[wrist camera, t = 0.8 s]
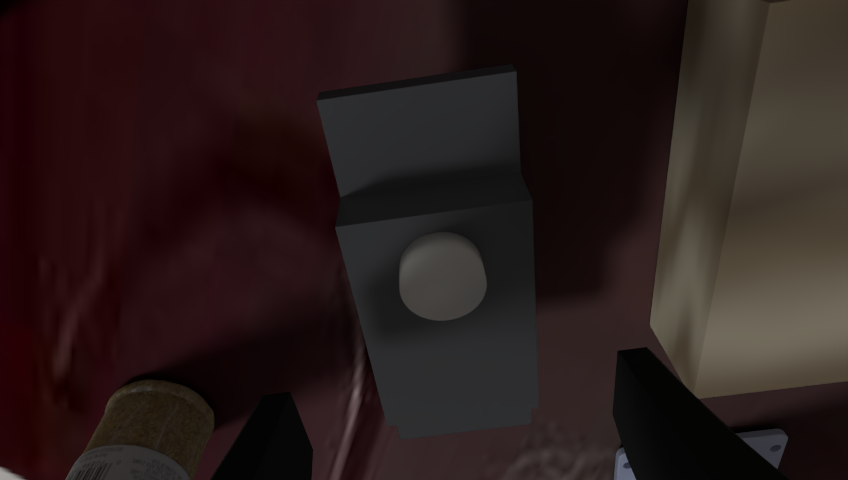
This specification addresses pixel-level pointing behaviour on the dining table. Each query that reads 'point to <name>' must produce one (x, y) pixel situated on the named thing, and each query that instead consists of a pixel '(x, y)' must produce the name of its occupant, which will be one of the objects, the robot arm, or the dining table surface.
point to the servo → (439, 246)
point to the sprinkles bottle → (148, 435)
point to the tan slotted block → (757, 199)
